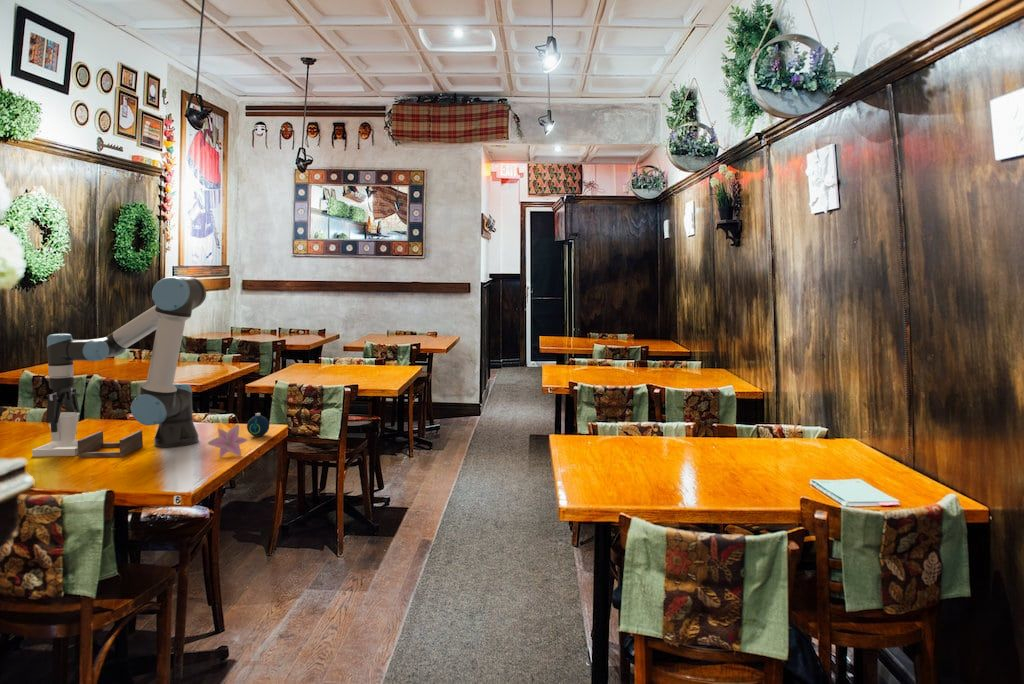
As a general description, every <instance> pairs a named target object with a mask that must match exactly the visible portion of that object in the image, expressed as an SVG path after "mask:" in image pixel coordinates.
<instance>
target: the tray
mask: <svg viewBox="0 0 1024 684" xmlns="http://www.w3.org/2000/svg"><path fill="white" fill-rule="evenodd" d="M78 440H79V439H75V443H74V444H72V445H67V446H56V445H54V441H50V442H48V443H46V444H43V445H41V446H38V447H36V448H33V449H31V454H32V457H72V456H73V457H77V455H78Z"/></svg>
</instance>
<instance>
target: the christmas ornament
mask: <svg viewBox="0 0 1024 684" xmlns="http://www.w3.org/2000/svg"><path fill="white" fill-rule="evenodd" d="M254 414H255V415H254V416H252V417H251V418H250V419H249V420H248V421H247V424H246V429H247V432H248V433H249V435H251V436H254V437H261V436H264V435H266V433H268V431H269V430H270V422H269V420H268V419H267V418H266V417H265V416H263V415H261V412H257V413H254Z"/></svg>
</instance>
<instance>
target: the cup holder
mask: <svg viewBox="0 0 1024 684" xmlns="http://www.w3.org/2000/svg"><path fill="white" fill-rule="evenodd" d="M77 440H78V458H112V457H113V458H114V457H115V458H117V457H119V458H120V457H121V458H123V457H125V456H127V455H129V454H131V453H133V452H135V451H136V450H138V449H140V448H142V447H144V445H143V440H144V438H143V430H137V431H135V432H133V433H130V435H127V436H125V437H123V438H121V439H119V440H118V441H119V442H104V431H103V430H100V431H96V432H94V433H92V434H90V435H88V436H85V437H83V438H80V439H77ZM102 448H119V451H98V450H99V449H102Z"/></svg>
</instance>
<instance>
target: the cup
mask: <svg viewBox="0 0 1024 684" xmlns="http://www.w3.org/2000/svg"><path fill="white" fill-rule="evenodd" d="M79 417H80V413H77V412H67V411H66V412H60V416H59V421H58V423H60V434H61V441H54V445H56V446H67V445H72V444H74V443H75V440H76V435H77V434H76V429H78V423H79ZM48 425H49V428H50V430H51V424H50V423H48Z"/></svg>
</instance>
